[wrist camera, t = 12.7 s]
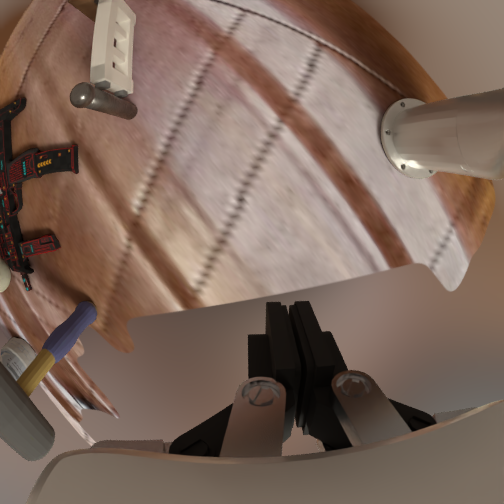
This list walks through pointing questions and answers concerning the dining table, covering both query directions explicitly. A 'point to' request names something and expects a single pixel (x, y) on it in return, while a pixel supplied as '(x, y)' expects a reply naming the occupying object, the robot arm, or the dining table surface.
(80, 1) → the post
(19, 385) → the rubber mallet
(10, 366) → the canister
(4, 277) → the figurine
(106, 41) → the gate
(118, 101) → the hinge post
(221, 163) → the dining table surface
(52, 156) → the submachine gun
